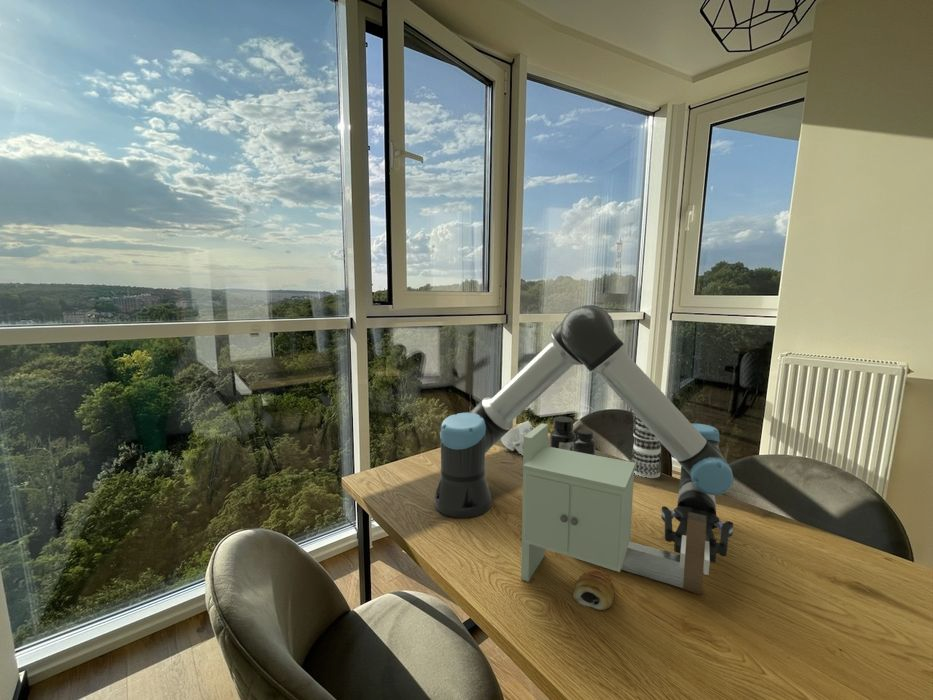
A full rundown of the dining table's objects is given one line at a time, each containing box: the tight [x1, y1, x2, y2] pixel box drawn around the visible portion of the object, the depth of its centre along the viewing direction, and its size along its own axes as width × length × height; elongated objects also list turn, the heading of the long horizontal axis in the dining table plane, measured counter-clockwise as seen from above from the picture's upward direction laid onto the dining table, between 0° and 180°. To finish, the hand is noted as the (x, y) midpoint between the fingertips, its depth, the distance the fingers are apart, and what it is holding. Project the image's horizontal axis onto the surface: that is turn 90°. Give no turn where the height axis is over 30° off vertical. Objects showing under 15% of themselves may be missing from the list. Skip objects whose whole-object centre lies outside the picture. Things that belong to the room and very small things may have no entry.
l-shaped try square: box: [620, 512, 706, 595], centre depth 82 cm, size 24×3×14 cm, turn 60°
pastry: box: [572, 568, 615, 611], centre depth 77 cm, size 9×7×4 cm
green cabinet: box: [520, 422, 636, 583], centre depth 76 cm, size 19×14×29 cm
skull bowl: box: [500, 420, 535, 456], centre depth 148 cm, size 10×14×12 cm
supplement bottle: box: [573, 429, 597, 455], centre depth 133 cm, size 7×7×12 cm
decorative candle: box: [630, 412, 663, 479], centre depth 128 cm, size 9×9×25 cm
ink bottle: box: [549, 416, 577, 451], centre depth 146 cm, size 10×9×12 cm
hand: (694, 563), depth 72 cm, fingers closed on l-shaped try square, 3 cm apart
